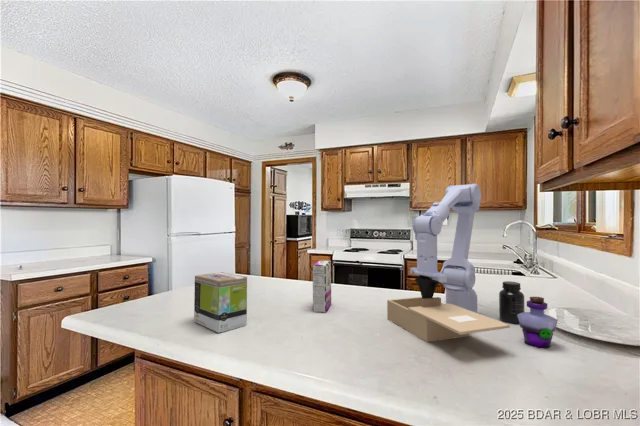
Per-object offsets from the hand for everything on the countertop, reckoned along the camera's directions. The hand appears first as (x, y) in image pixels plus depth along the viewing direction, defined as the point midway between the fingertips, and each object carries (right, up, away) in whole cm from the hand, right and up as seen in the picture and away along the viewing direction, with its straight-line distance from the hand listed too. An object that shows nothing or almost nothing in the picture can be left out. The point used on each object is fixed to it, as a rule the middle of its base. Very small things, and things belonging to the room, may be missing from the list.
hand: (427, 302), depth 93 cm
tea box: (-62, -8, +4) cm, 63 cm away
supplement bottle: (+28, -8, +6) cm, 30 cm away
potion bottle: (+24, -7, -12) cm, 28 cm away
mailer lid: (+3, -1, -11) cm, 11 cm away
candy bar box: (-31, -8, +20) cm, 38 cm away
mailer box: (0, -7, +1) cm, 7 cm away
